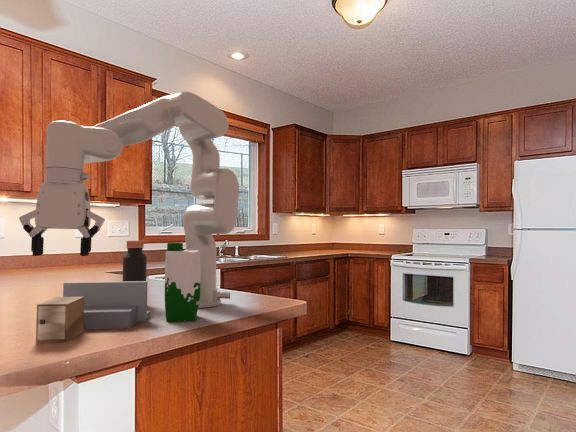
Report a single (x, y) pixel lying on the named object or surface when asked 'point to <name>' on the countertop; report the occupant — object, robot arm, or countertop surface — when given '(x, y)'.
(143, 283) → the wall board
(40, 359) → the countertop surface
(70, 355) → the countertop surface
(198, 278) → the milk carton
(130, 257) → the bottle
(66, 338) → the tan wooden block
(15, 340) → the countertop surface
